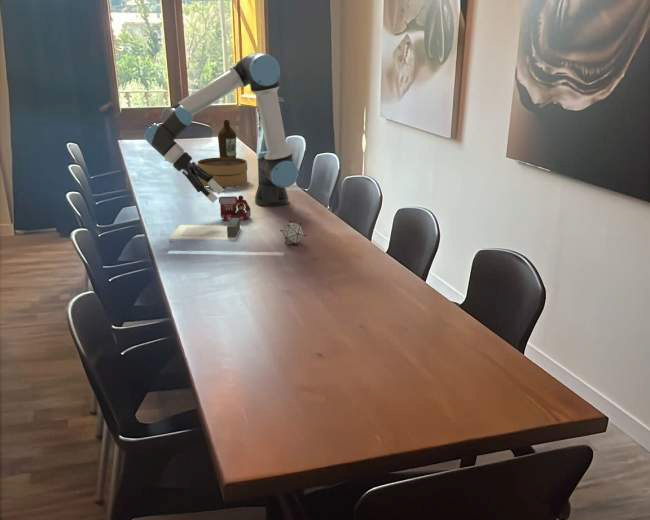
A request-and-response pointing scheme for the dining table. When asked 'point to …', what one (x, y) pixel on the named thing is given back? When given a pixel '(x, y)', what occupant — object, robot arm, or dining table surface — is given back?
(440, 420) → the dining table surface
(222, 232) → the mat
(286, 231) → the geodesic ball
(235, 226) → the grey rectangular block
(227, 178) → the steamer basket
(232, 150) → the olive oil
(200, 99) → the robot arm
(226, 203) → the red toy car
